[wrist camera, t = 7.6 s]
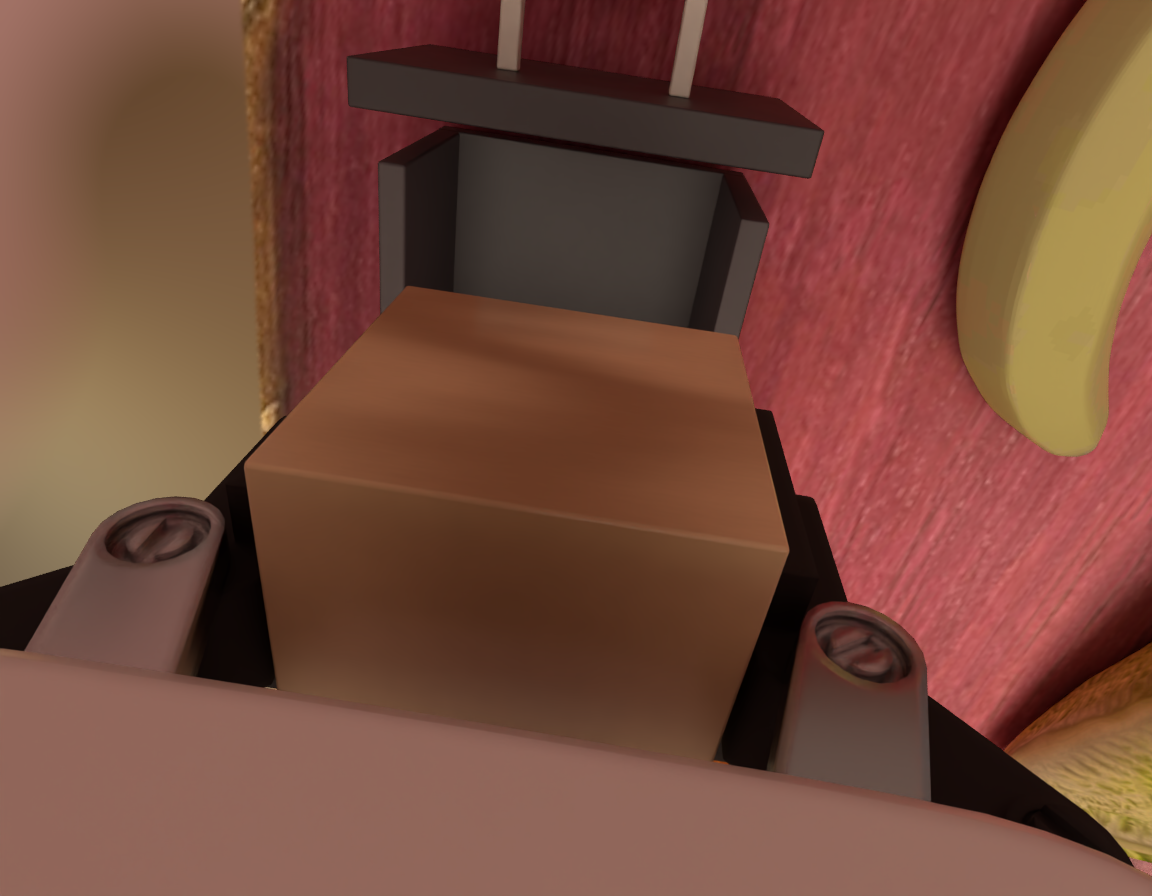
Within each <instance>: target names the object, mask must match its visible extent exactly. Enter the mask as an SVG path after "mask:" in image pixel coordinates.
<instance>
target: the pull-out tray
mask: <svg viewBox="0 0 1152 896" xmlns="http://www.w3.org/2000/svg"><path fill="white" fill-rule="evenodd" d="M707 4H708V0H685V3H684V9H683V14H682V20H681V25H680V31H679V36H678V42H677V48H676V53H675V59H674V64H673V70H672V75H671V81H670V82H669V81H662V80H656V79H649V78H643V77H637V76H630V75H624V74H617V73H611V72H604V71H598V70H592V69H585V68H579V67H572V66H566V65H560V64H553V63H547V62H540V61H534V60H527V59H521V49H522V36H523V24H524V11H525V0H501V8H500V24H499V40H498V55H495V54H489V53H482V52H476V51H470V50H463V49H457V48H450V47H444V46H437V45H431V44H429V45H422V46H415V47H408V48H401V49H394V50H386V51H379V52H372V53H365V54H358V55H351V56H347V79H348V104H349V106H351V107H356V108H362V109H369V110H375V111H381V112H388V113H394V114H400V115H407V116H413V117H419V118H426V119H432V120H438V121H445V122H451V123H458V124H464V125H470V126H477V127H483V128H489V129H496V130H502V131H508V132H515V133H521V134H528V135H534V136H540V137H547V138H553V139H559V140H566V141H572V142H578V143H585V144H591V145H598V146H604V147H610V148H617V149H623V150H629V151H636V152H642V153H648V154H655V155H661V156H667V157H674V158H680V159H687V160H693V161H699V162H706V163H712V164H718V165H725V166H731V167H737V168H744V169H750V170H757V171H763V172H769V173H776V174H782V175H788V176H795V177H801V178H807V179H809V178H811V176H812V173H813V170H814V166H815V163H816V159H817V156H818V152H819V149H820V146H821V142H822V139H823V135H824V130H822V129H821V128H819V127H818V126H817V125H815V124H814V123H812V122H811V121H810V120H808V119H807V118H805V117H804V116H803V115H801V114H800V113H798V112H797V111H796V110H794V109H793V108H791V107H790V106H789V105H787V104H786V103H784V102H783V101H782V100H780V99H778V98H771V97H765V96H759V95H752V94H746V93H739V92H733V91H727V90H720V89H714V88H707V87H701V86H694V85H692V81H693V76H694V71H695V66H696V60H697V55H698V50H699V45H700V40H701V35H702V29H703V24H704V19H705V14H706V9H707ZM378 191H379V255H380V315H381V314H382V312H383V311H384V310H385V309H386V308H387V307H388V306H389V305H390V304H391V303H392V302H393V301H394V299H395V298H396V297H397V296H398V295H399V294H400V293H401V292H402V291H403V290H404V289H405V287H406V286H414V287H420V288H427V289H434V290H440V291H447V292H453V293H460V294H467V295H473V296H480V297H486V298H493V299H499V300H506V301H513V302H519V303H526V304H532V305H539V306H546V307H552V308H559V309H565V310H572V311H578V312H585V313H592V314H598V315H605V316H611V317H618V318H624V319H631V320H638V321H644V322H651V323H657V324H664V325H671V326H677V327H684V328H690V329H697V330H703V331H710V332H717V333H723V334H730V335H735V336H737V337H738V339H739V335H740V332H741V328H742V324H743V321H744V317H745V313H746V309H747V306H748V302H749V298H750V295H751V291H752V287H753V284H754V280H755V276H756V273H757V269H758V265H759V261H760V258H761V254H762V250H763V247H764V243H765V239H766V236H767V232H768V228H769V222H768V220H767V218H766V216H765V214H764V212H763V210H762V209H761V207H760V205H759V203H758V201H757V199H756V197H755V195H754V193H753V191H752V190H751V188H750V186H749V184H748V182H747V180H746V178H745V177H744V175H743V173H741V172H735V171H728V170H722V169H716V168H709V167H703V166H696V165H690V164H684V163H677V162H671V161H665V160H658V159H652V158H646V157H639V156H633V155H627V154H620V153H614V152H607V151H601V150H595V149H588V148H582V147H576V146H569V145H563V144H557V143H550V142H544V141H538V140H531V139H525V138H518V137H512V136H506V135H499V134H493V133H487V132H480V131H474V130H468V129H461V128H455V127H449V126H444V127H442V128H440V129H439V130H437V131H435V132H433V133H431V134H430V135H428V136H426V137H424V138H422V139H420V140H418V141H416V142H415V143H413V144H411V145H409V146H407V147H405V148H403V149H402V150H400V151H398V152H396V153H394V154H392V155H390V156H389V157H387V158H385V159H383V160H381V161H379V163H378Z"/></svg>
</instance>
